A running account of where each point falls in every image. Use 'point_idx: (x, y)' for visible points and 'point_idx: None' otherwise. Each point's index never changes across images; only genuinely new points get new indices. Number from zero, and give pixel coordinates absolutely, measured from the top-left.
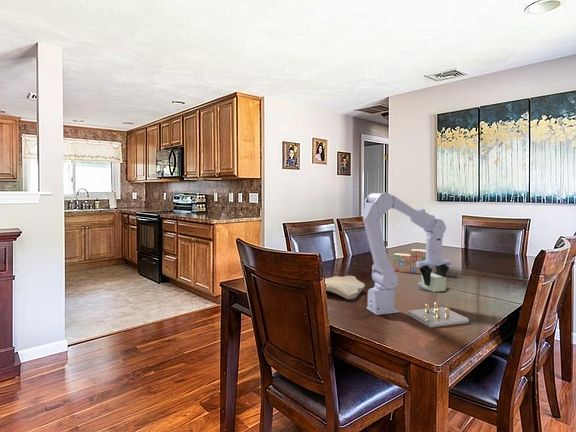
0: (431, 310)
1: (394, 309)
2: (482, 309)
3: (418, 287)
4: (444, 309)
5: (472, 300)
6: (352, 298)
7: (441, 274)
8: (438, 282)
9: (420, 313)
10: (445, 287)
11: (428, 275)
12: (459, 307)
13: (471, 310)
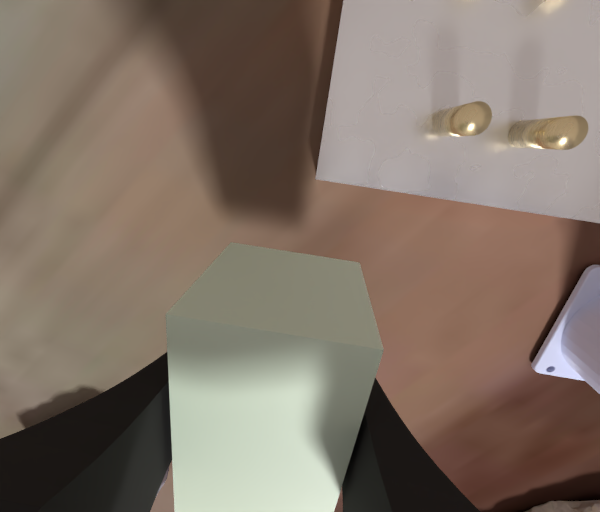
0: (457, 152)
1: (596, 299)
2: (51, 82)
3: (166, 476)
4: (353, 127)
5: (12, 244)
6: (573, 503)
7: (151, 420)
8: (310, 300)
9: (592, 133)
10: (224, 254)
11: (411, 455)
12: (169, 181)
13: (135, 99)
